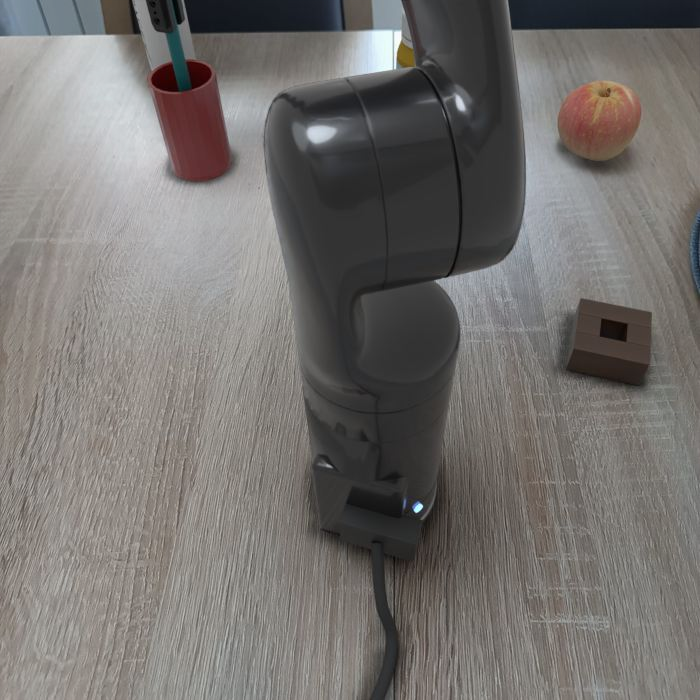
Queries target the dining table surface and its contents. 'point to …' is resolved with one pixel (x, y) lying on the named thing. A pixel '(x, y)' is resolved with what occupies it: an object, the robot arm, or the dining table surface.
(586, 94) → the apple
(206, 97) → the cup
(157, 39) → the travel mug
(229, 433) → the dining table surface
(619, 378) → the block
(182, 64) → the straw
